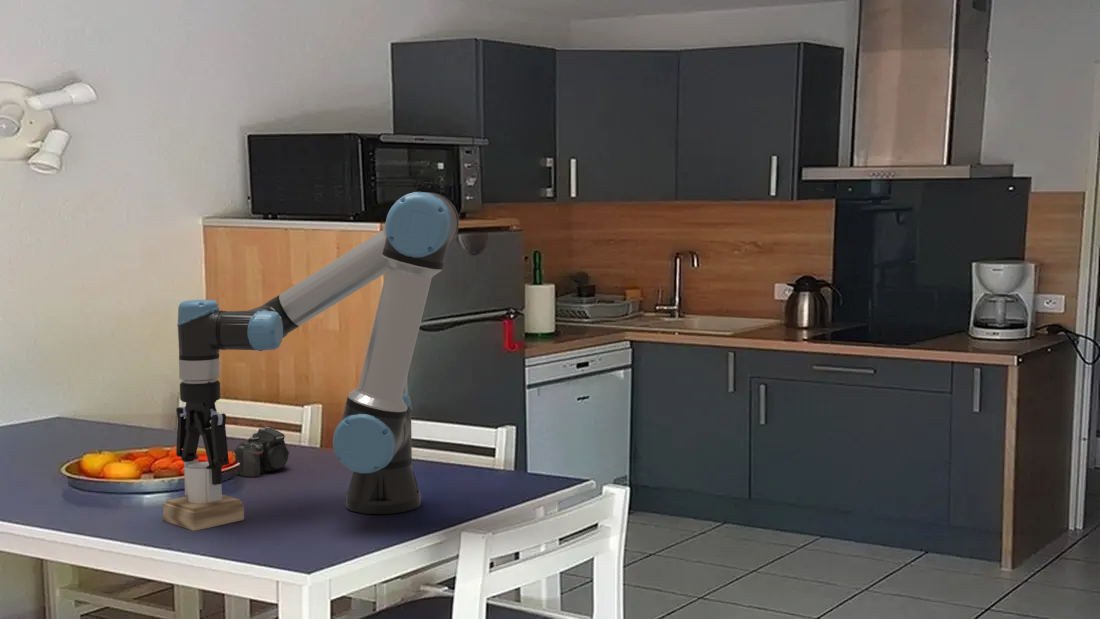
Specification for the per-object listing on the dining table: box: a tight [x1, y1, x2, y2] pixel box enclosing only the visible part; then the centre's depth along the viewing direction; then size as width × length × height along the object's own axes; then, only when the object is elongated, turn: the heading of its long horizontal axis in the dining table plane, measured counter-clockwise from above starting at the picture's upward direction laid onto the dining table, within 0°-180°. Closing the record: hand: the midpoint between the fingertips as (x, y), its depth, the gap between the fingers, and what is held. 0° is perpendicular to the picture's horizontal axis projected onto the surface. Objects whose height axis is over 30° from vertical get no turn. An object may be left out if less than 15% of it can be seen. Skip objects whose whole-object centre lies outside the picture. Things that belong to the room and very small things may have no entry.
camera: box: [233, 426, 290, 478], centre depth 289 cm, size 13×10×10 cm
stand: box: [162, 494, 245, 532], centre depth 247 cm, size 11×11×4 cm
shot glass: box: [183, 460, 215, 504], centre depth 246 cm, size 7×7×7 cm
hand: (203, 497), depth 246 cm, fingers open, 7 cm apart
